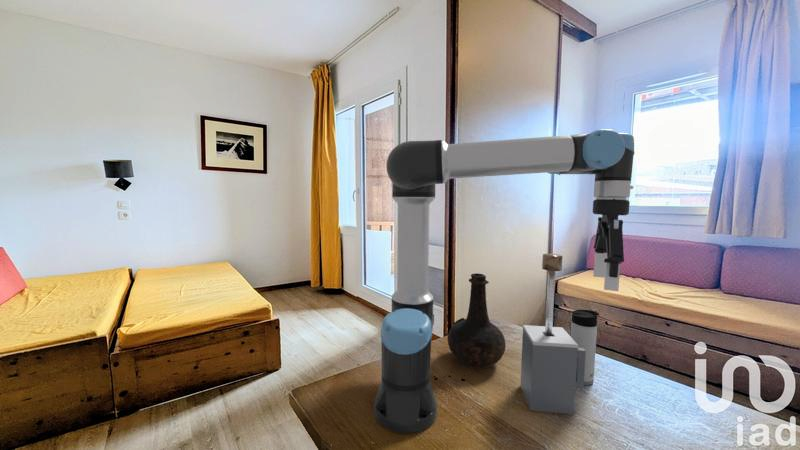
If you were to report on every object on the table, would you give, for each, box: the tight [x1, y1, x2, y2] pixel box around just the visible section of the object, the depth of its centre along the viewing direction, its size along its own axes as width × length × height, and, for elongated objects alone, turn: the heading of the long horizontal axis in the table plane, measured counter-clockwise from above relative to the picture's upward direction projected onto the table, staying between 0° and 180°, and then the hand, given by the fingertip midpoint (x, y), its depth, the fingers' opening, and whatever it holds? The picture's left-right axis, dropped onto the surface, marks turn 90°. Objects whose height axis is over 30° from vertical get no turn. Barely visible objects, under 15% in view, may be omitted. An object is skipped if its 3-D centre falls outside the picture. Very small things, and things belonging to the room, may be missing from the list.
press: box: [520, 324, 586, 415], centre depth 80 cm, size 14×10×17 cm
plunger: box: [541, 253, 563, 336], centre depth 79 cm, size 4×4×24 cm
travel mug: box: [570, 309, 600, 386], centre depth 90 cm, size 6×7×20 cm
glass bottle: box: [447, 272, 507, 369], centre depth 99 cm, size 18×18×28 cm
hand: (604, 283), depth 80 cm, fingers open, 13 cm apart
